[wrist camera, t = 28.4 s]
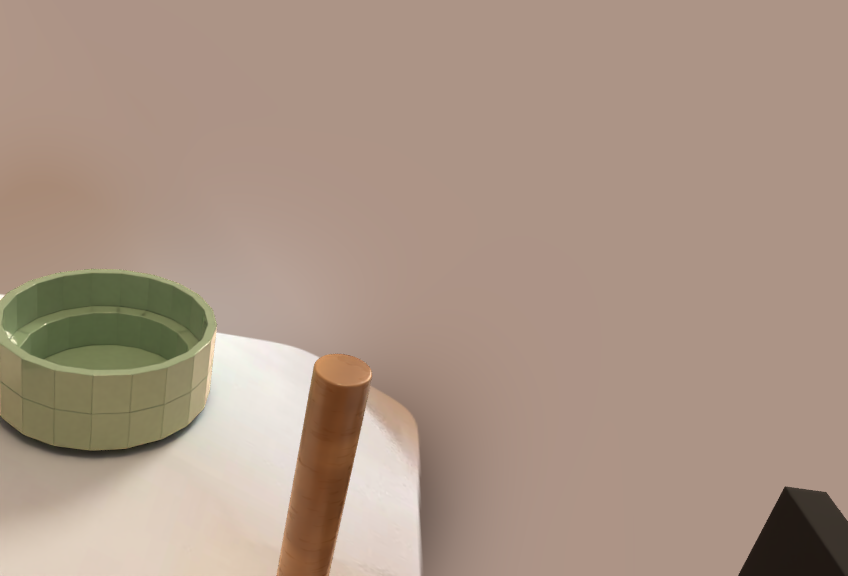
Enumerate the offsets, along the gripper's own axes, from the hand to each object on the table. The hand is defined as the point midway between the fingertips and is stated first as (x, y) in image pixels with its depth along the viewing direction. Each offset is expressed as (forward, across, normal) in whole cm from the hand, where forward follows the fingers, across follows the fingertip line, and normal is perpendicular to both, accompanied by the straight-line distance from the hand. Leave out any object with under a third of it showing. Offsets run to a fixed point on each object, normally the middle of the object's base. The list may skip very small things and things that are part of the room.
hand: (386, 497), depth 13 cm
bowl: (+35, -14, -25) cm, 45 cm away
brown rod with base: (+15, 0, -25) cm, 29 cm away
